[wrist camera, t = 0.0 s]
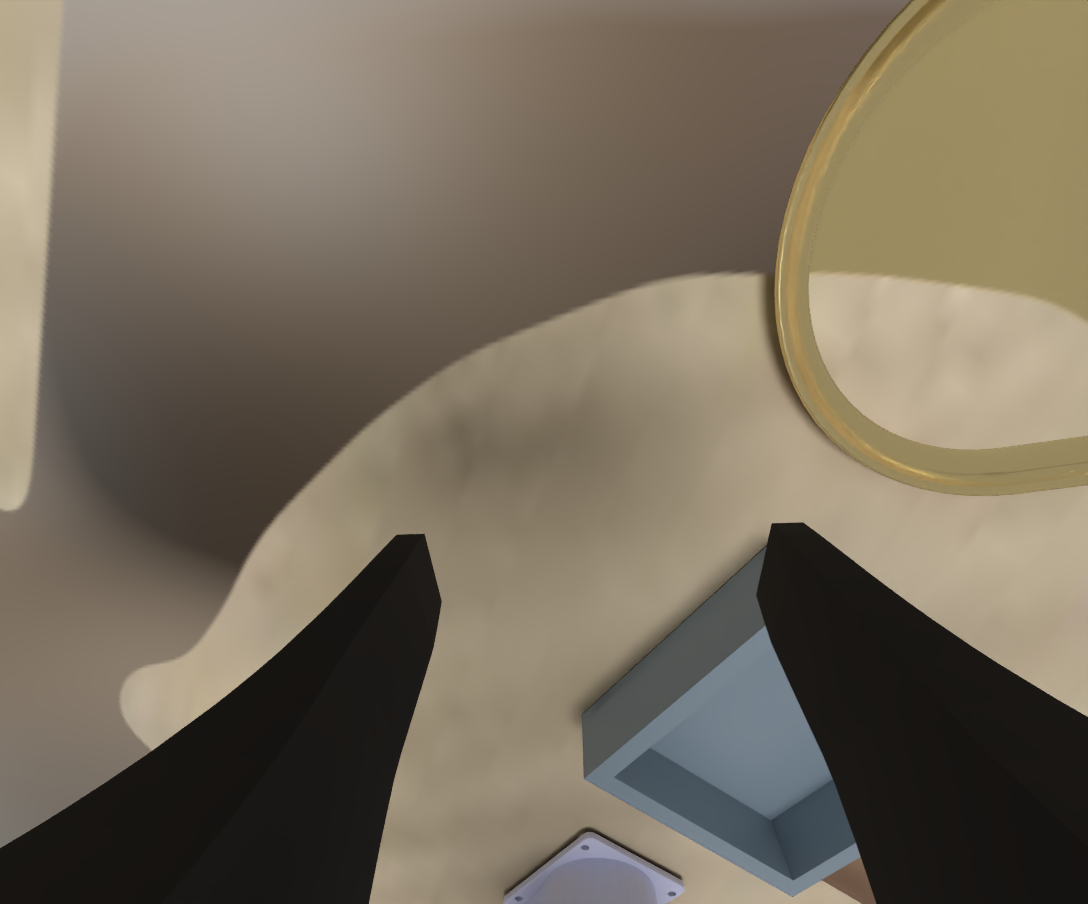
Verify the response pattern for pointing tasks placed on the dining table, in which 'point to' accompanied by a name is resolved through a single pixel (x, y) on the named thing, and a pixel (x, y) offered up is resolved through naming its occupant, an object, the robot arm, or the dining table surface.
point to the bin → (722, 746)
